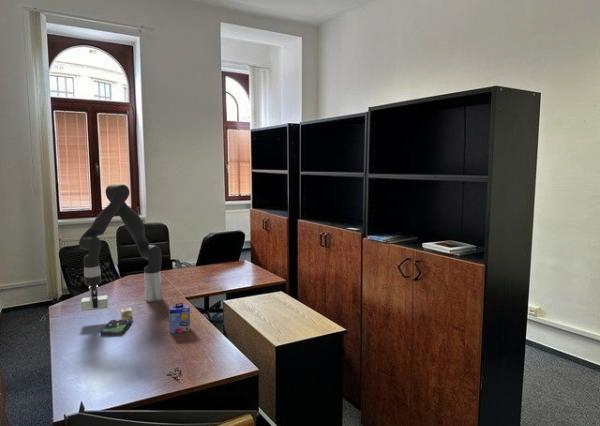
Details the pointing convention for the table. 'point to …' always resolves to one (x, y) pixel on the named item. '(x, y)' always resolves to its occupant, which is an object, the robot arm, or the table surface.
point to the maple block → (126, 314)
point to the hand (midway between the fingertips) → (94, 305)
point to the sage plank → (88, 304)
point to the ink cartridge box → (179, 318)
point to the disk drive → (115, 327)
